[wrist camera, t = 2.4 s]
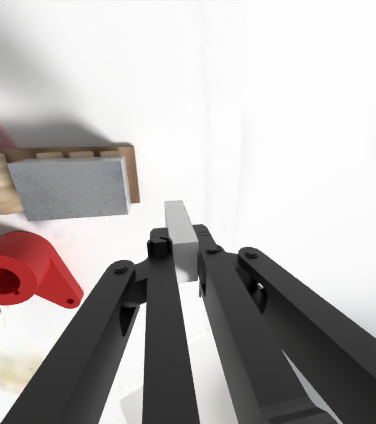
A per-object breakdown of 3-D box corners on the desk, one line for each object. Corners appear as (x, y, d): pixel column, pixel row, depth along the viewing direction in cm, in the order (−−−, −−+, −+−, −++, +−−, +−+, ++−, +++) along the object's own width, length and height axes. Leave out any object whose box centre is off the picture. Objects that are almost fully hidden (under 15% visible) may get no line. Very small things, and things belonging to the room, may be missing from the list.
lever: (-20, 248, 32) (-59, 276, 26) (26, 220, 32) (-3, 242, 26) (61, 309, 40) (45, 341, 34) (99, 287, 39) (90, 315, 33)
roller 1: (11, 207, 29) (28, 207, 29) (-7, 214, 27) (12, 214, 27) (-10, 152, 26) (9, 153, 26) (-33, 155, 24) (-12, 155, 24)
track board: (-50, 212, 29) (-107, 235, 23) (-84, 149, 25) (-163, 156, 19) (139, 200, 33) (137, 217, 27) (134, 146, 30) (129, 150, 23)
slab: (44, 209, 27) (28, 221, 24) (28, 158, 25) (6, 163, 21) (131, 203, 29) (128, 214, 26) (125, 156, 26) (120, 160, 23)
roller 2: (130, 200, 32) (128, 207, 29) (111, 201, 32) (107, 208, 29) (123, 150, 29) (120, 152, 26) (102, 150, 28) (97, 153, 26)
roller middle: (104, 202, 31) (100, 208, 29) (85, 203, 31) (78, 210, 28) (95, 151, 28) (89, 153, 25) (73, 151, 28) (65, 153, 25)
